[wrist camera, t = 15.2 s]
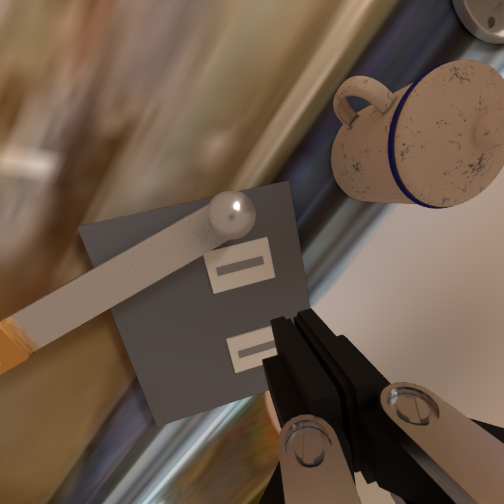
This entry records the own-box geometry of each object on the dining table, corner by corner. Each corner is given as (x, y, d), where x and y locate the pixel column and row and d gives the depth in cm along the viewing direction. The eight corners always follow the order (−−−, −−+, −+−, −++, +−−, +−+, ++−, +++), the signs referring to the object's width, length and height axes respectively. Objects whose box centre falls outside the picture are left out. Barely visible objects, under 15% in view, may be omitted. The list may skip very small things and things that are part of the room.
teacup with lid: (426, 143, 25) (598, 105, 14) (375, 220, 26) (500, 240, 15) (339, 62, 22) (475, -69, 11) (284, 153, 23) (359, 116, 12)
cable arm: (236, 182, 21) (242, 181, 18) (256, 220, 22) (265, 225, 19) (-8, 320, 20) (-47, 343, 16) (26, 353, 21) (-5, 380, 18)
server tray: (284, 181, 24) (291, 179, 22) (315, 364, 29) (323, 376, 27) (85, 224, 21) (73, 228, 19) (159, 414, 27) (156, 432, 25)
